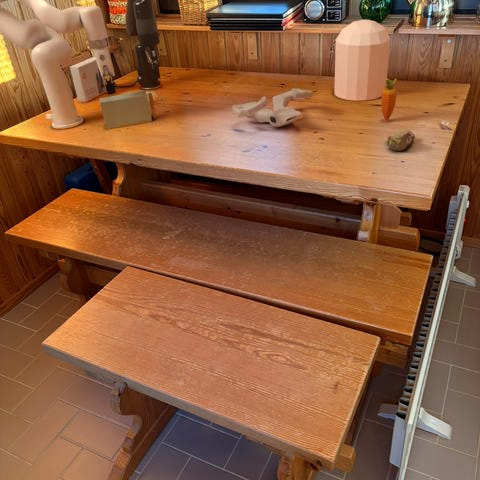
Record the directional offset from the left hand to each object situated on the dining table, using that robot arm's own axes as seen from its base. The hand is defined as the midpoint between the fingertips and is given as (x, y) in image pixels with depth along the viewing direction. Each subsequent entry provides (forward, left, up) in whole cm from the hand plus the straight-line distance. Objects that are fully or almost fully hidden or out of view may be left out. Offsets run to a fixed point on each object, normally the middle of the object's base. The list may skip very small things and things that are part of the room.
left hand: (111, 90), depth 178 cm
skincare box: (-28, +39, -14) cm, 50 cm away
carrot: (+103, 0, -14) cm, 104 cm away
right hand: (+16, +8, +3) cm, 18 cm away
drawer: (+8, +4, -13) cm, 16 cm away
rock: (+106, -22, -14) cm, 109 cm away
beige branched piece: (+65, -2, -14) cm, 66 cm away
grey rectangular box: (+3, +2, -14) cm, 14 cm away
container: (+95, +32, -14) cm, 101 cm away
